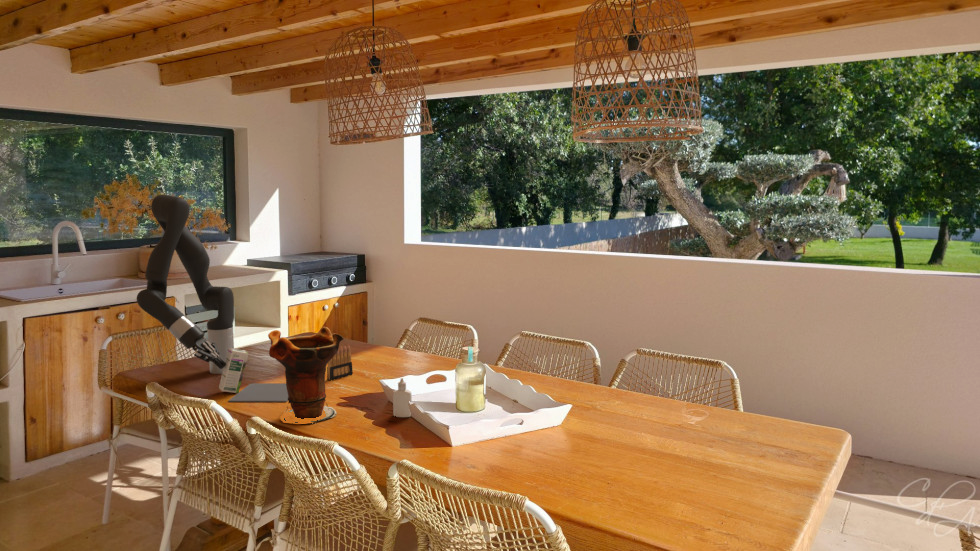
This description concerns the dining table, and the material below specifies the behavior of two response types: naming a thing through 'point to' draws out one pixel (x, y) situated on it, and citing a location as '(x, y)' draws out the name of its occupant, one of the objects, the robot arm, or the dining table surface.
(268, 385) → the mat
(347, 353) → the ammunition clip
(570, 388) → the dining table surface
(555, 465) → the dining table surface
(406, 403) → the eye dropper bottle
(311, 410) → the decorative vase
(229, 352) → the syrup box
